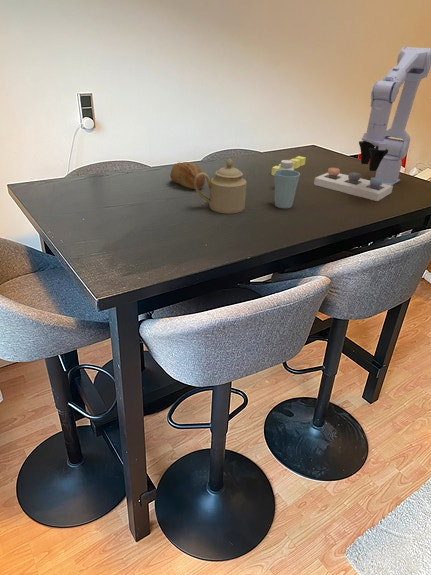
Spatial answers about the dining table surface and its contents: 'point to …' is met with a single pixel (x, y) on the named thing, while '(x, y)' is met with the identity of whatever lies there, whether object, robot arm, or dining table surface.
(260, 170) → the dining table surface
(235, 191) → the sugar bowl
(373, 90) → the robot arm
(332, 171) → the terracotta button
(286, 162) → the supplement bottle
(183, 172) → the bread roll
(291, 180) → the cup
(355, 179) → the charcoal button
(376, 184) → the slate blue button
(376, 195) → the button panel
